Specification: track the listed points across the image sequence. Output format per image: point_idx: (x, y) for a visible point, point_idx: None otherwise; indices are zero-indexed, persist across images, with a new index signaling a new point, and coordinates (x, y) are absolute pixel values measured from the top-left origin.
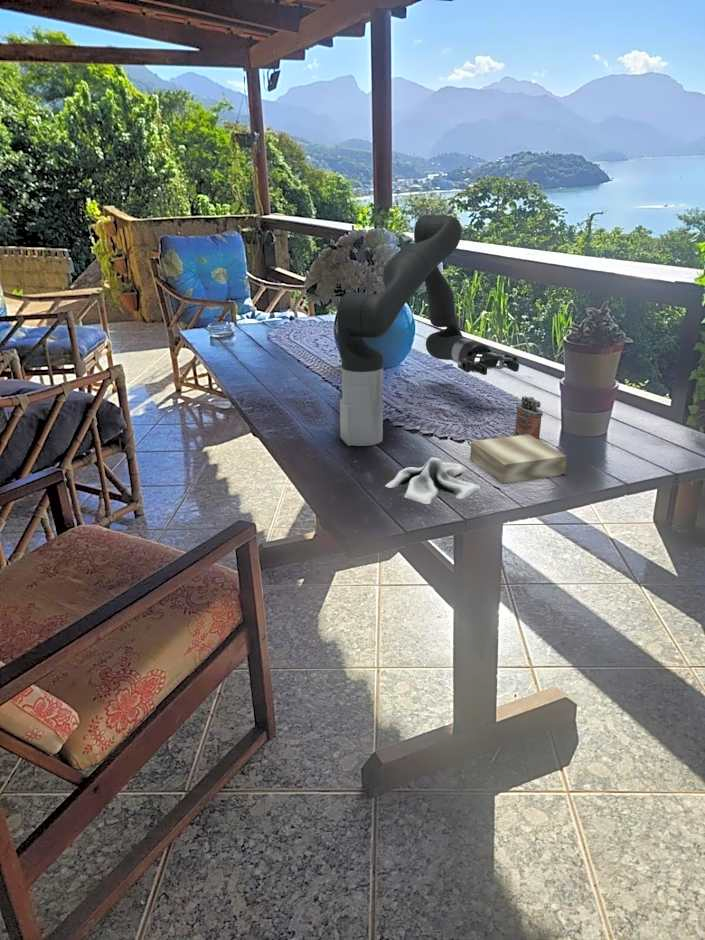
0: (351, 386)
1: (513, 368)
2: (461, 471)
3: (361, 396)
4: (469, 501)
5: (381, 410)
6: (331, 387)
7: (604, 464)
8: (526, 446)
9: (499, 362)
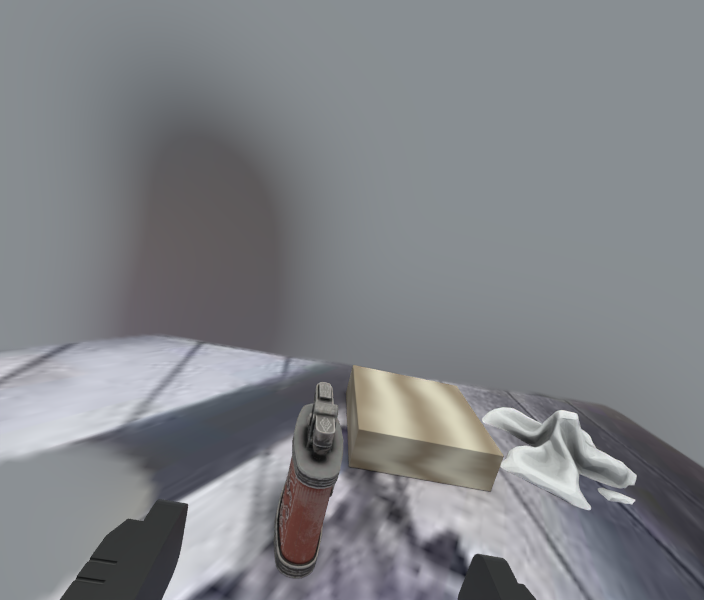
0: None
1: (161, 585)
2: (511, 449)
3: None
4: (499, 405)
5: None
6: None
7: (257, 384)
8: (396, 401)
9: None
